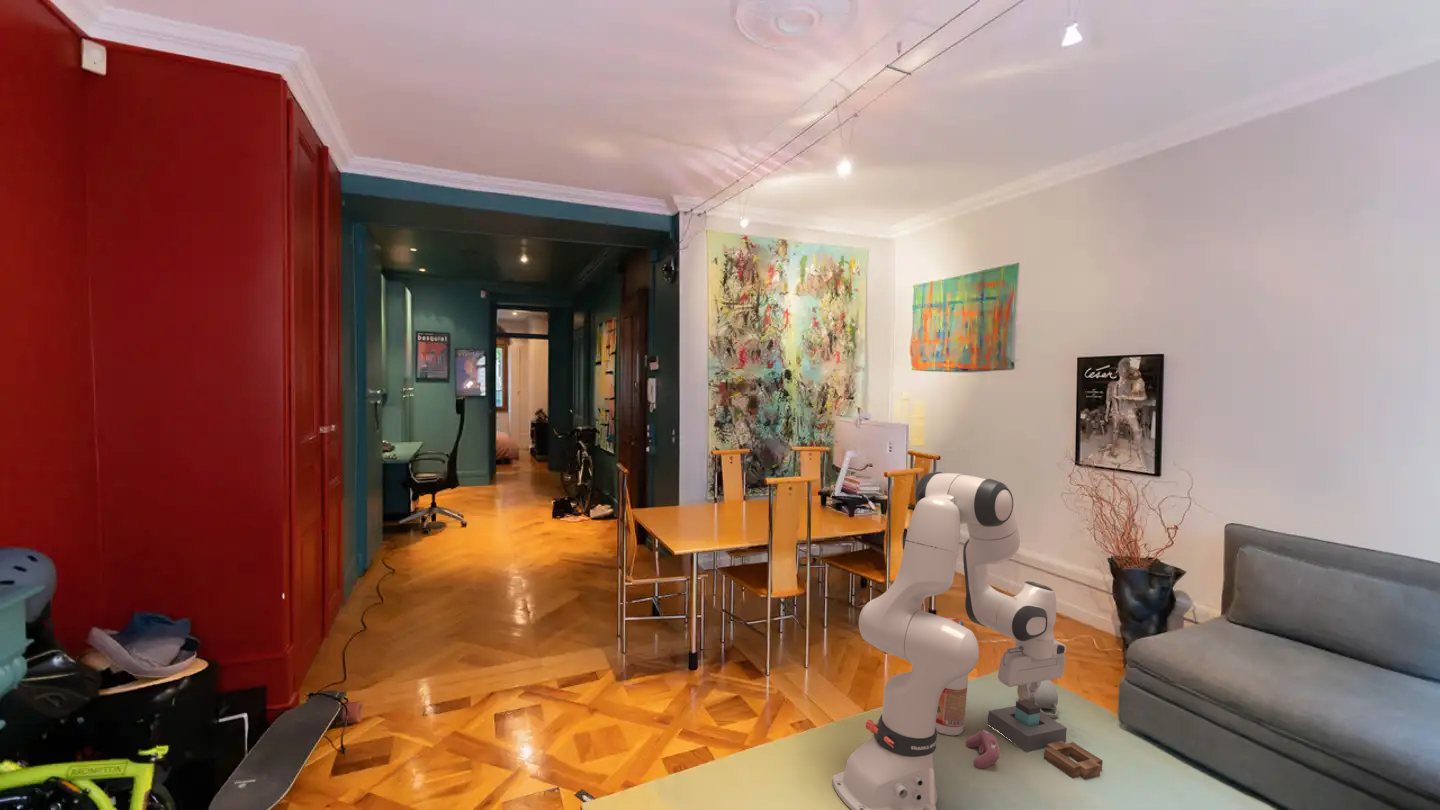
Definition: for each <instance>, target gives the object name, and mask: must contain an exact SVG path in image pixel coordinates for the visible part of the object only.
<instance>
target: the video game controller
mask: <svg viewBox="0 0 1440 810" xmlns="http://www.w3.org/2000/svg"><path fill="white" fill-rule="evenodd" d="M965 746H966V747H967V748H970V747H971V748H970V749H972V748H978V747H979V749H978V752H979V754H980V755H978V756H977V757H975V759H974V760H973V766H974V767H975V768H976V767H977V769H985V768H987V767H990V766H991V765H993V764H995V763H996V762H997V761H998V760H999V759H1000V758H1001V756H1000V755H1001V750H1000V748H999V743H998V740H997V738H996V736H995V735H994V734H993V733H991V732H989V731H987V730H985V729H983V730H980V731H979V732H977V733H975V734H973V735H971V736H969V737H968V738H967V739H966V740H965Z"/></svg>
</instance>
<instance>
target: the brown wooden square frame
mask: <svg viewBox="0 0 1440 810" xmlns="http://www.w3.org/2000/svg"><path fill="white" fill-rule="evenodd" d="M1043 749H1044V751H1043V760H1045V761H1046V762H1048V763H1049V764H1051V765H1053V767H1055V768H1057V769H1058V770H1060V771H1061V772H1062V773H1064V774H1066V775H1067V776H1068V777H1070V778H1072V779H1076V778H1081V779H1083V780H1085V781H1087V780H1090V779H1093V778H1096V777H1100V776H1101V772H1102V769H1103V759H1101V758H1100V757H1098V756H1097V755H1094V753H1091V752H1089V751H1088V750H1087V749H1085V748H1083V747H1081V746H1080V745H1078V744H1077V743H1075V742H1073V741H1072V742H1067V743H1064V742H1063V741H1059V742H1054V743H1050V744H1047V748H1043ZM1070 758H1071V759H1070ZM1074 760H1075V761H1076V762H1075V761H1074Z"/></svg>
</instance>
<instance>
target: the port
mask: <svg viewBox="0 0 1440 810" xmlns="http://www.w3.org/2000/svg"><path fill="white" fill-rule="evenodd" d="M1015 708H1016V705H1013V706H1008V707H1007V706H1006V707H1003V708H1002V707H1000V708H996V709H992V710H988V714H987V724H988V725H990V726H991V727H993V728H994V729H996V730H998V731H999V732H1000V733H1002V734H1003V735H1004V736H1005V737H1007V738H1008V739H1010V740H1011V741H1012V742H1013V743H1015V744H1016V745H1017V747H1018V748H1019V749H1020V750H1022V751H1024V752H1025V753H1030V752H1034V751H1038V750H1042V749H1045V748H1047V744H1050V743H1054V742H1059V741H1063V742H1064V743H1066V742H1067V727H1066V726H1065V725H1063V724H1061V723H1059V722H1058V721H1056V720H1054V718H1053V719H1051V718H1050V717H1048V716H1046V715H1044V714H1043V713H1041V712H1040V717H1039V725H1037V726H1032V727H1028V726H1026V725H1025V724H1023V723H1021V722H1020V721H1018V720H1017V719H1015ZM987 724H986V725H987ZM1005 737H1004V738H1005ZM1008 739H1007V740H1008ZM1011 741H1010V742H1011ZM1012 742H1011V743H1012ZM1013 743H1012V744H1013ZM1015 744H1014V745H1015ZM1066 744H1067V743H1066ZM1016 745H1015V746H1016Z"/></svg>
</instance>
